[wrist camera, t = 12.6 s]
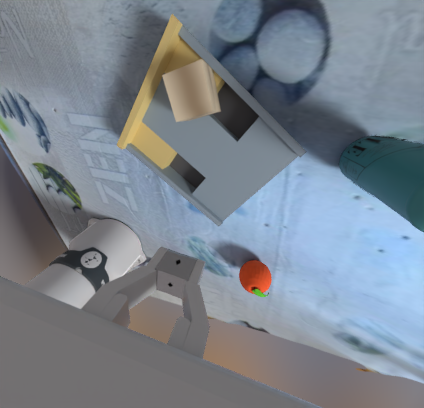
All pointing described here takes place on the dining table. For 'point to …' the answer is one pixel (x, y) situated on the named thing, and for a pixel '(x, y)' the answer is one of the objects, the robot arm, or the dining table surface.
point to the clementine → (255, 277)
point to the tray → (205, 134)
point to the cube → (192, 91)
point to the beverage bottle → (389, 173)
